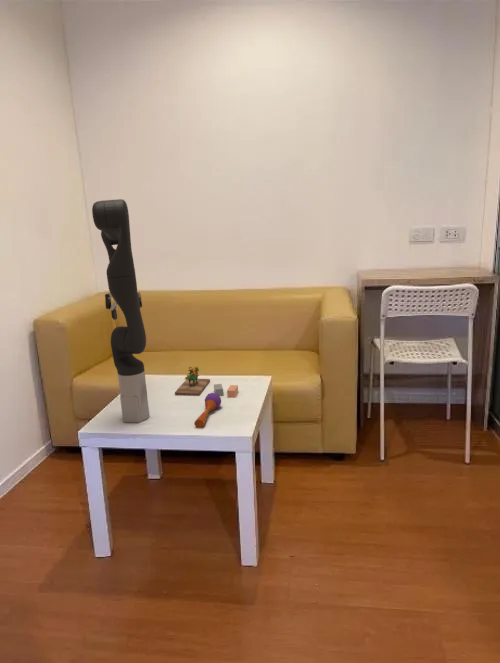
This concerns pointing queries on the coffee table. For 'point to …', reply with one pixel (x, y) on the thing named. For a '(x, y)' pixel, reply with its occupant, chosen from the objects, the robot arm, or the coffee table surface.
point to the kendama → (208, 408)
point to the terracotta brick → (232, 391)
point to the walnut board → (192, 387)
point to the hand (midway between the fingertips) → (125, 319)
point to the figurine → (193, 375)
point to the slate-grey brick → (218, 389)
